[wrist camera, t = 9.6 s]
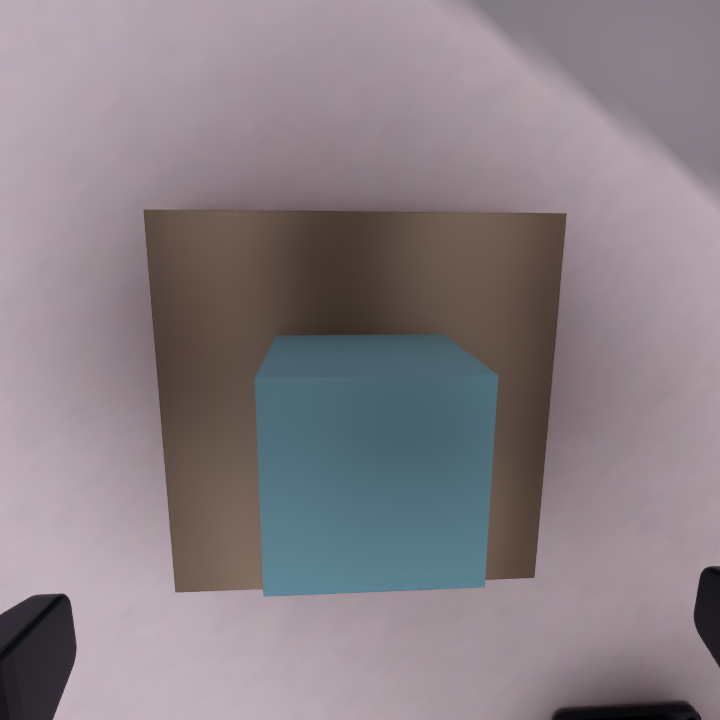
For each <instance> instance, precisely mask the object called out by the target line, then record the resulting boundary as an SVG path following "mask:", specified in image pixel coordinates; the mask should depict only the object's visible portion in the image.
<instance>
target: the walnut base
mask: <svg viewBox="0 0 720 720" xmlns="http://www.w3.org/2000/svg"><path fill="white" fill-rule="evenodd" d="M144 220H145V232H146V244H147V256H148V268H149V280H150V292H151V304H152V316H153V328H154V340H155V352H156V364H157V376H158V388H159V400H160V412H161V424H162V436H163V448H164V460H165V472H166V484H167V496H168V508H169V520H170V532H171V544H172V556H173V568H174V580H175V592H199V591H223V590H248V589H263V570H262V545H261V521H260V496H259V472H258V448H257V423H256V399H255V377H256V375H257V373H258V371H259V369H260V367H261V365H262V363H263V361H264V359H265V357H266V355H267V353H268V351H269V349H270V347H271V345H272V343H273V341H274V339H275V337H276V336H281V335H416V334H444V335H445V336H446V337H448V338H449V339H451V340H452V341H453V342H455V343H456V344H457V345H459V346H460V347H461V348H463V349H464V350H465V351H467V352H468V353H469V354H471V355H472V356H473V357H475V358H476V359H477V360H479V361H480V362H481V363H483V364H484V365H485V366H487V367H488V368H489V369H491V370H492V371H493V372H495V373H496V374H497V375H498V388H497V403H496V419H495V434H494V449H493V465H492V480H491V495H490V511H489V526H488V541H487V557H486V572H485V580H490V579H515V578H534V575H535V564H536V553H537V541H538V530H539V519H540V508H541V496H542V485H543V474H544V462H545V451H546V440H547V429H548V417H549V406H550V395H551V383H552V372H553V361H554V350H555V338H556V327H557V316H558V304H559V293H560V282H561V271H562V259H563V248H564V237H565V225H566V214H559V213H451V212H342V211H234V210H144Z"/></svg>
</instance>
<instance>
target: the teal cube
mask: <svg viewBox="0 0 720 720" xmlns="http://www.w3.org/2000/svg"><path fill="white" fill-rule="evenodd" d="M497 388H498V375H497V374H496V373H495V372H493V371H492V370H491V369H489V368H488V367H487V366H485V365H484V364H483V363H481V362H480V361H479V360H477V359H476V358H475V357H473V356H472V355H471V354H469V353H468V352H467V351H465V350H464V349H463V348H461V347H460V346H459V345H457V344H456V343H455V342H453V341H452V340H451V339H449V338H448V337H446V336H445V335H444V334H416V335H281V336H276V337H275V339H274V341H273V343H272V345H271V347H270V349H269V351H268V353H267V355H266V357H265V359H264V361H263V363H262V365H261V367H260V369H259V371H258V373H257V375H256V377H255V399H256V423H257V448H258V472H259V496H260V521H261V545H262V570H263V594H264V596H288V595H311V594H335V593H359V592H382V591H406V590H430V589H453V588H477V587H485V572H486V557H487V541H488V526H489V511H490V495H491V480H492V465H493V449H494V434H495V419H496V403H497Z"/></svg>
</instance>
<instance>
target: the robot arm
mask: <svg viewBox="0 0 720 720" xmlns="http://www.w3.org/2000/svg"><path fill="white" fill-rule="evenodd" d="M694 622H695V626H696V629H697V631H698V633H699V635H700V637H701V639H702V640H703V642H704V643H705V645H706V647H707V648H708V650H709V651H710V653H711V655H712V656H713V658H714V659H715V661H716V663H717V664H718V666H719V667H720V566H710V567H707V568H705V569H704V570H703V571H702V573H701V575H700V580H699V586H698V591H697V597H696V603H695V609H694ZM76 648H77V646H76V637H75V630H74V623H73V615H72V608H71V603H70V600H69V598H68V596H66V595H65V594H40V595H34V596H31V597H29V598H28V599H26V600H24V601H23V602H21V603H19V604H17V605H16V606H14V607H12V608H11V609H9V610H7V611H6V612H4V613H2V614H0V720H53V718H54V715H55V713H56V710H57V707H58V705H59V702H60V699H61V697H62V694H63V692H64V689H65V686H66V684H67V681H68V679H69V676H70V673H71V671H72V668H73V665H74V662H75V658H76ZM554 720H701V717H700V715H699V714H698V712H697V711H696V710H695V709H694V707H692V706H691V705H671V706H655V707H638V708H621V709H605V710H588V711H571V712H563V713H560V714H558V715H557V716H556V717H555V719H554Z"/></svg>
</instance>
